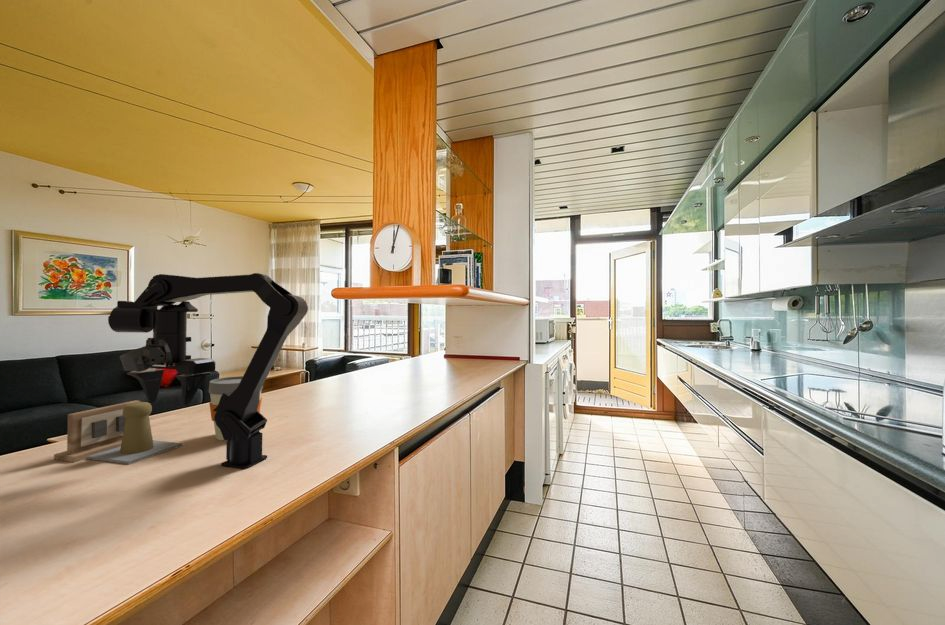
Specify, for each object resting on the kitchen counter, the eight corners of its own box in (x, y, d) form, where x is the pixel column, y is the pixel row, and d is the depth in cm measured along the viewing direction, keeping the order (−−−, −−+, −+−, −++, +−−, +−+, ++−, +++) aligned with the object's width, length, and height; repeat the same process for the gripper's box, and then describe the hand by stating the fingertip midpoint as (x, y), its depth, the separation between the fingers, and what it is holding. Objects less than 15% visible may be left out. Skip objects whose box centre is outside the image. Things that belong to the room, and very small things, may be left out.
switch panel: (150, 438, 98) (151, 400, 98) (74, 462, 83) (75, 416, 83) (132, 437, 100) (133, 399, 100) (53, 459, 84) (54, 414, 84)
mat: (182, 445, 94) (182, 443, 94) (129, 464, 82) (129, 461, 82) (143, 441, 96) (143, 439, 96) (87, 459, 85) (87, 456, 85)
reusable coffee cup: (272, 431, 106) (273, 378, 106) (227, 445, 94) (228, 385, 94) (242, 425, 111) (243, 374, 111) (196, 438, 99) (197, 381, 99)
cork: (128, 456, 85) (128, 407, 85) (113, 451, 88) (114, 404, 88) (159, 447, 91) (160, 401, 91) (145, 443, 93) (145, 399, 93)
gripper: (93, 333, 77) (92, 410, 77) (167, 336, 73) (166, 417, 73) (150, 331, 88) (149, 398, 87) (218, 333, 84) (216, 404, 83)
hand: (168, 404), depth 82 cm, fingers open, 9 cm apart
